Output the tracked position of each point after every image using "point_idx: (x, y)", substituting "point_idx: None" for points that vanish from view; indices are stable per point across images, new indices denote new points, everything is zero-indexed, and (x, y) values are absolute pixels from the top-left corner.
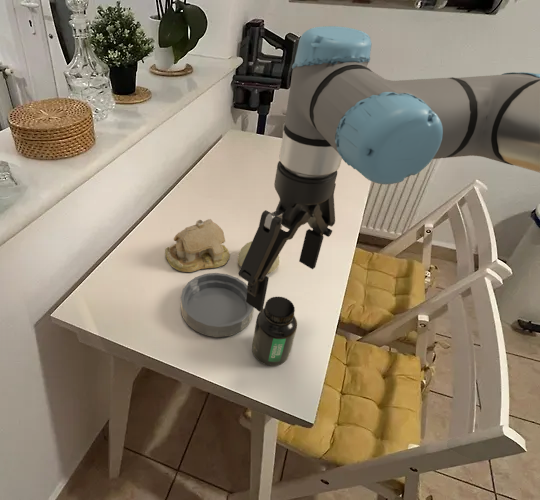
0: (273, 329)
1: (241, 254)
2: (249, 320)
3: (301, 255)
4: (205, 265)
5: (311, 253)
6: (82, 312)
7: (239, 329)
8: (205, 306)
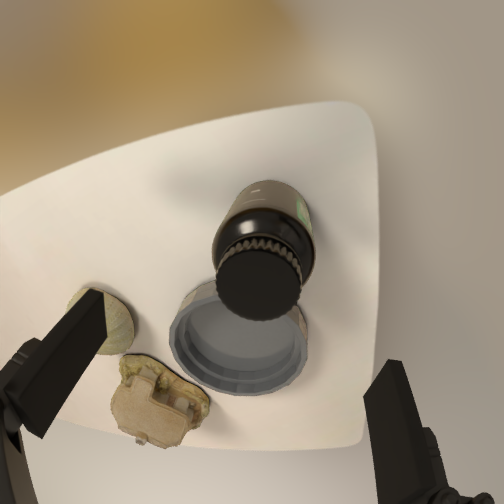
0: (306, 258)
1: (118, 353)
2: None
3: (94, 352)
4: (173, 379)
5: (73, 349)
6: (344, 435)
7: None
8: (248, 349)
